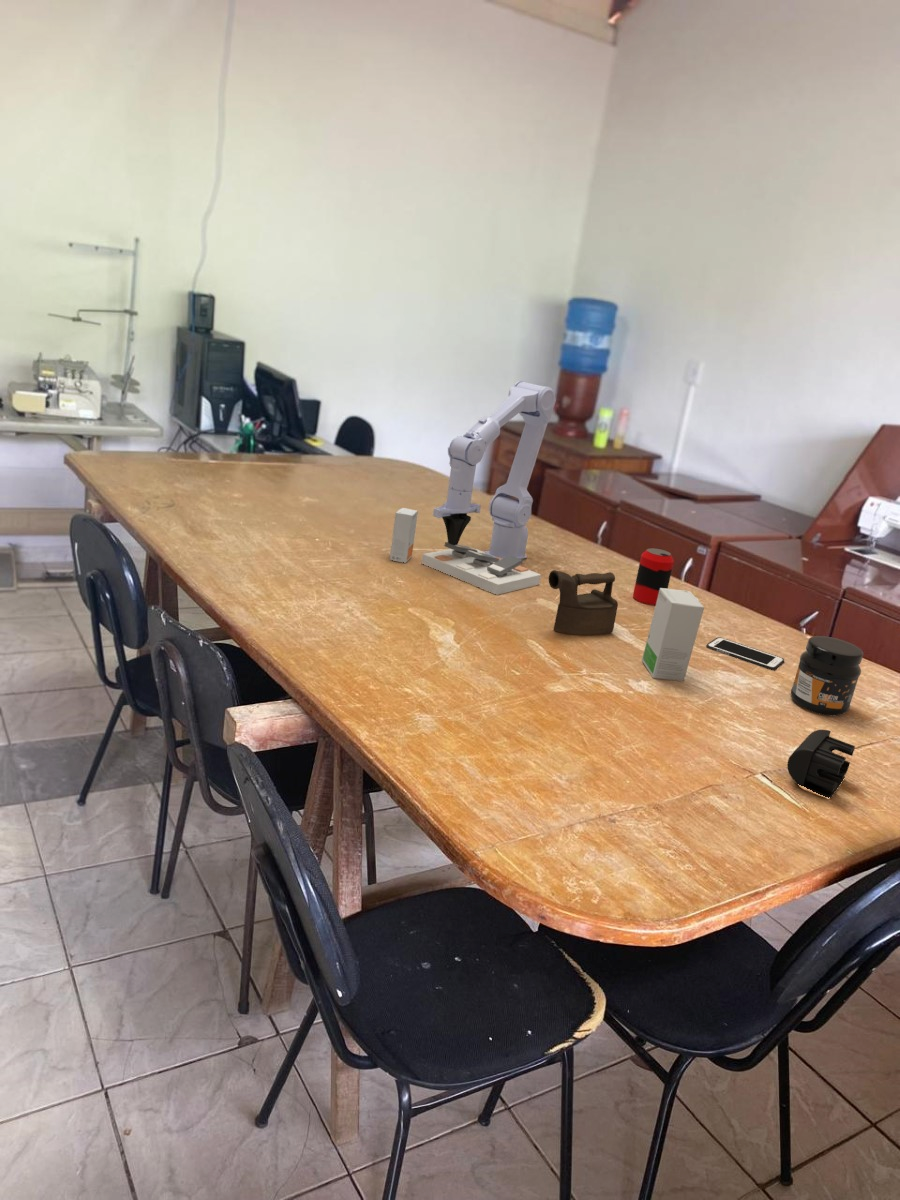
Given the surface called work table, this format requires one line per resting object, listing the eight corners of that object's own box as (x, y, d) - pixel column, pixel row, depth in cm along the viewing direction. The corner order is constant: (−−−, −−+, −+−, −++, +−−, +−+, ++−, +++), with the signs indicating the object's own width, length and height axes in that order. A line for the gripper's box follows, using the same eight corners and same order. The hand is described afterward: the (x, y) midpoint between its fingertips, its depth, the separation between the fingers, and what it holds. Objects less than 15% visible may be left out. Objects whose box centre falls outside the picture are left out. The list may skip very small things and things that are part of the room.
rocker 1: (464, 549, 222) (465, 545, 221) (476, 554, 219) (477, 549, 219) (444, 546, 215) (445, 541, 215) (456, 550, 213) (457, 546, 213)
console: (465, 555, 227) (467, 542, 226) (539, 584, 213) (541, 571, 212) (421, 563, 216) (423, 550, 215) (496, 595, 201) (498, 580, 200)
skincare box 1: (406, 563, 214) (412, 515, 210) (389, 560, 215) (394, 512, 211) (412, 557, 220) (418, 510, 216) (396, 554, 221) (401, 507, 217)
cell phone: (773, 672, 180) (774, 668, 180) (704, 648, 188) (705, 644, 187) (784, 663, 186) (785, 658, 186) (717, 640, 194) (718, 636, 193)
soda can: (645, 606, 208) (656, 557, 204) (626, 595, 214) (636, 547, 210) (670, 605, 211) (681, 556, 208) (650, 593, 218) (660, 546, 214)
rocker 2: (485, 558, 217) (487, 553, 217) (498, 562, 215) (499, 558, 215) (465, 554, 211) (466, 549, 211) (478, 559, 209) (479, 554, 208)
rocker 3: (509, 558, 213) (509, 554, 212) (522, 563, 210) (522, 559, 210) (487, 570, 208) (487, 566, 207) (500, 576, 205) (500, 571, 205)
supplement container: (788, 707, 163) (805, 647, 159) (789, 687, 173) (805, 629, 169) (849, 723, 160) (868, 662, 156) (847, 701, 170) (865, 644, 166)
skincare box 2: (641, 661, 175) (657, 586, 170) (673, 664, 176) (690, 590, 171) (653, 679, 167) (671, 601, 162) (687, 682, 168) (705, 605, 163)
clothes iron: (532, 624, 186) (542, 564, 182) (591, 619, 194) (603, 561, 190) (554, 639, 180) (565, 577, 176) (615, 633, 188) (627, 573, 184)
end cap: (800, 760, 144) (811, 723, 142) (845, 778, 140) (857, 740, 138) (781, 782, 136) (792, 743, 134) (828, 801, 132) (841, 761, 130)
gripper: (468, 482, 217) (460, 535, 222) (426, 486, 207) (419, 542, 211) (490, 489, 213) (481, 543, 218) (448, 494, 203) (441, 550, 207)
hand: (452, 543), depth 214 cm, fingers closed
